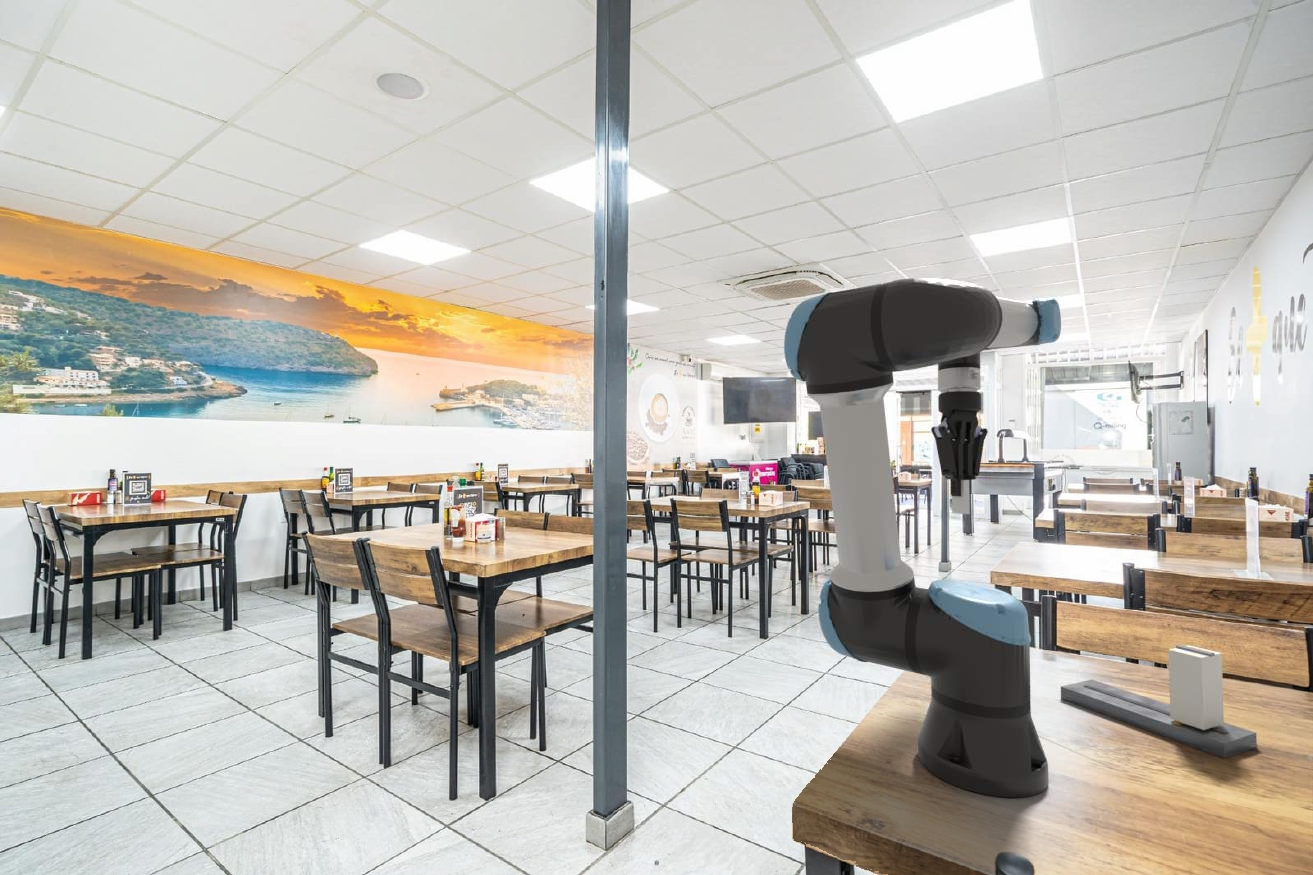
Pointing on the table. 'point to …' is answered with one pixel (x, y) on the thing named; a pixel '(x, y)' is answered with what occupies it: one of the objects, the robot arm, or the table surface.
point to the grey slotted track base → (1157, 718)
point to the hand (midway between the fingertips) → (960, 513)
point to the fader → (1196, 686)
